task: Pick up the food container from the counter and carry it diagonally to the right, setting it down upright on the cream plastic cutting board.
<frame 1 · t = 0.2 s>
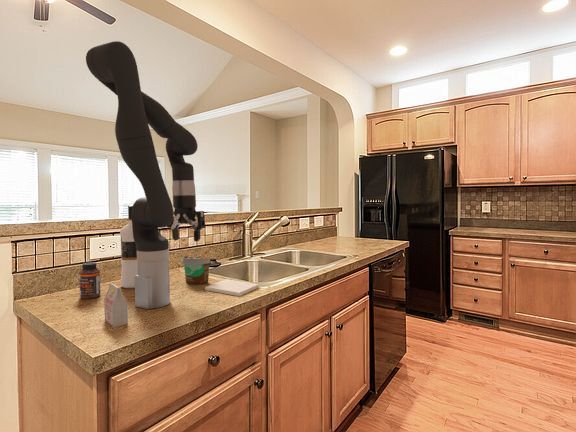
hand: (186, 240, 118), 18 cm above the countertop, tool pointing down, fingers open, 8 cm apart
white milk carton: (116, 322, 91), on the countertop
food container: (193, 283, 130), on the countertop
vodka: (134, 286, 127), on the countertop
supplement bottle: (90, 297, 113), on the countertop
cutting board: (232, 288, 122), on the countertop
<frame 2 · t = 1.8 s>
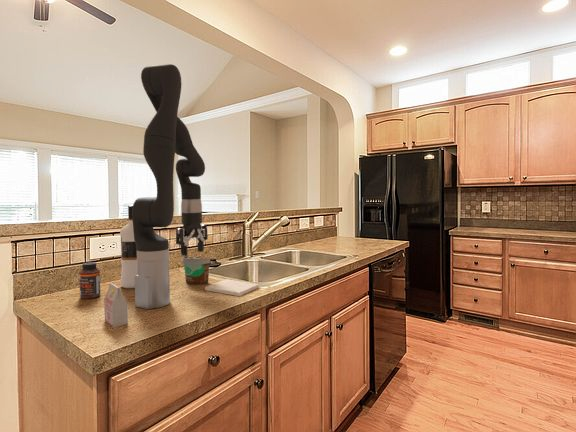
hand: (192, 253, 130), 11 cm above the countertop, tool pointing down, fingers open, 8 cm apart
nothing on the countertop moved.
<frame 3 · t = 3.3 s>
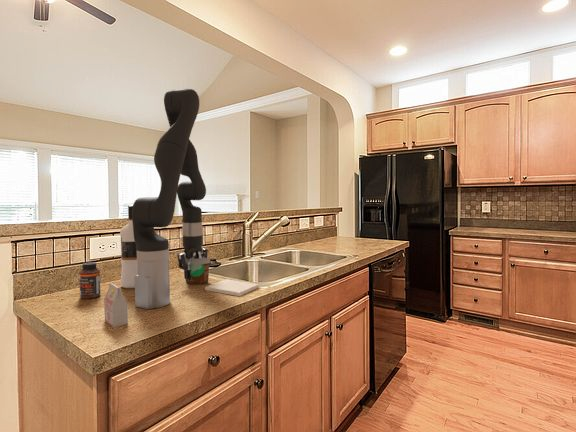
hand: (193, 277, 130), 2 cm above the countertop, tool pointing down, fingers open, 5 cm apart
food container: (193, 283, 130), on the countertop, touching gripper
everything else where it was.
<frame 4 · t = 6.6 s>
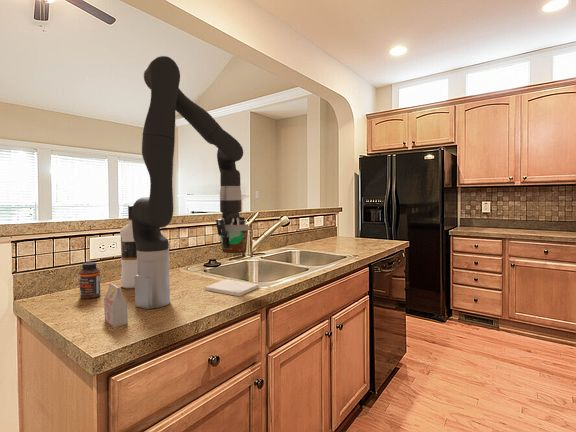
hand: (231, 246, 122), 15 cm above the countertop, tool pointing down, fingers closed on food container, 5 cm apart
food container: (230, 252, 121), point 13 cm above the countertop, touching gripper
everything else where it was.
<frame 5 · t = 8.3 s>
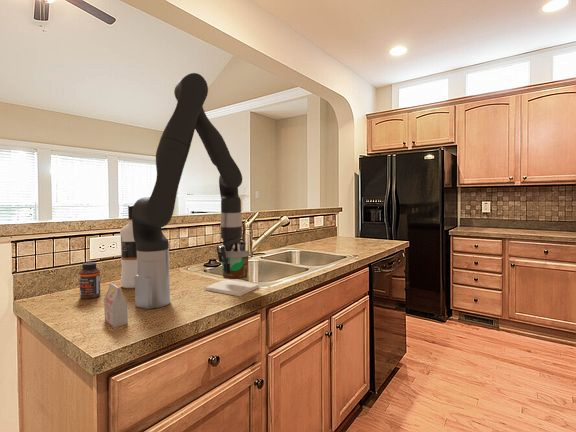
hand: (232, 271, 122), 6 cm above the countertop, tool pointing down, fingers closed on food container, 5 cm apart
food container: (231, 278, 122), point 4 cm above the countertop, touching gripper
everything else where it was.
when the fingers open (5 cm above the countertop, at t = 9.6 s): food container stays where it is, resting on cutting board.
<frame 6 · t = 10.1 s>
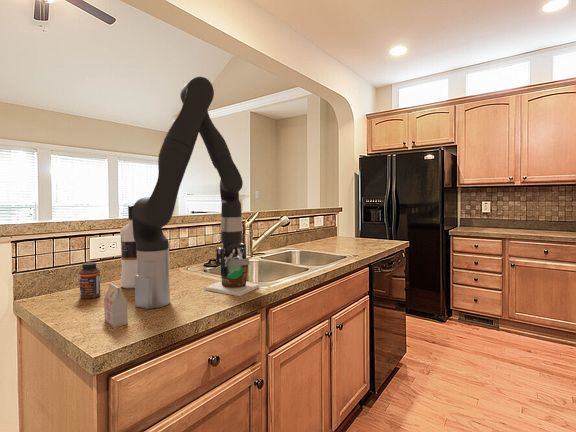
hand: (232, 274, 122), 5 cm above the countertop, tool pointing down, fingers open, 8 cm apart
food container: (229, 286, 121), point 1 cm above the countertop, touching cutting board
everything else where it was.
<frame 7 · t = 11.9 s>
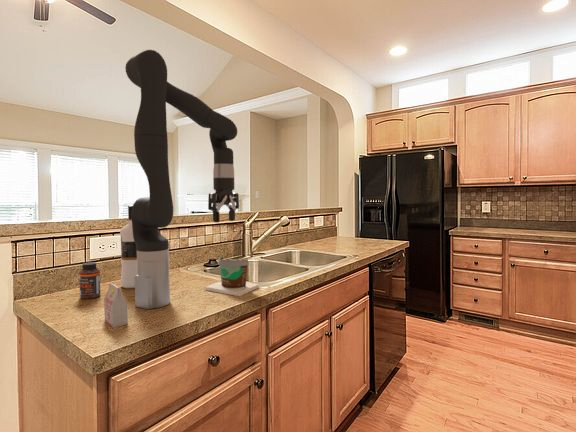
hand: (224, 221, 124), 24 cm above the countertop, tool pointing down, fingers open, 8 cm apart
nothing on the countertop moved.
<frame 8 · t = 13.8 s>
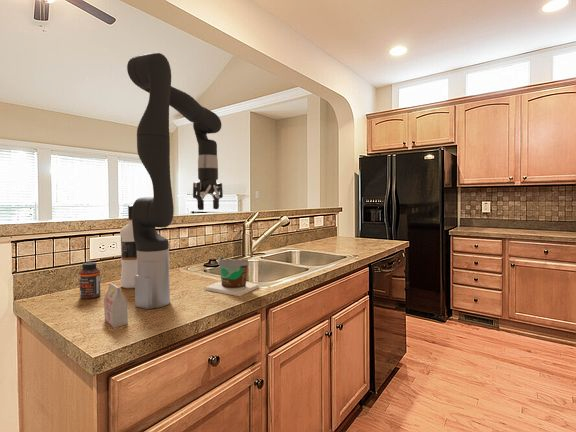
hand: (208, 209, 132), 28 cm above the countertop, tool pointing down, fingers open, 8 cm apart
nothing on the countertop moved.
at the end: food container inside the target area on the cutting board (1.5 cm from its centre), point 1.0 cm above the cutting board's base; food container tilted 0°; the gripper is holding nothing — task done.
